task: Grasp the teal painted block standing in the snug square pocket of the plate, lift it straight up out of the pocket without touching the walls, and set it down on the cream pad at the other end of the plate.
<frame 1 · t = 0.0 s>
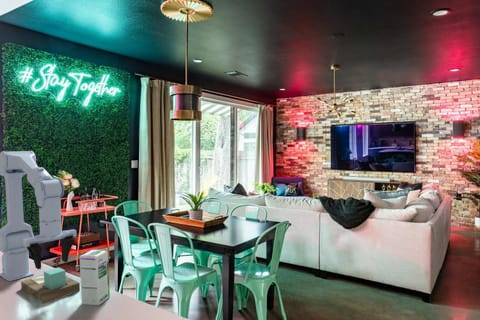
hand: (51, 264, 107), 10 cm above the kitchen counter, tool pointing down, fingers open, 7 cm apart
pocket plate: (50, 289, 113), on the kitchen counter
teal block: (55, 293, 111), resting in pocket plate
syrup box: (95, 301, 105), on the kitchen counter
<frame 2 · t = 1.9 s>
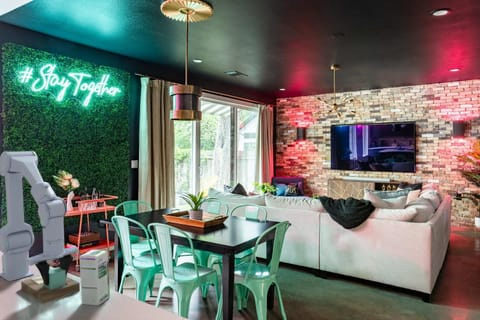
hand: (55, 282, 111), 3 cm above the kitchen counter, tool pointing down, fingers closed on teal block, 4 cm apart
teal block: (55, 292, 111), resting in pocket plate, touching gripper
everything else where it was.
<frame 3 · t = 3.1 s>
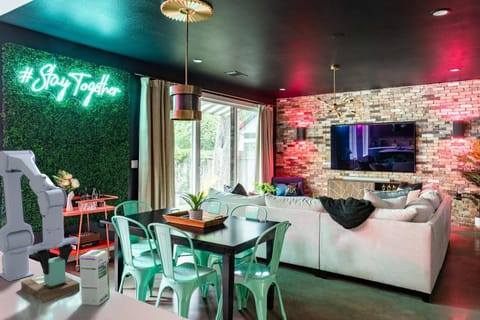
hand: (54, 271, 110), 7 cm above the kitchen counter, tool pointing down, fingers closed on teal block, 4 cm apart
teal block: (55, 282, 111), point 3 cm above the kitchen counter, touching gripper
everything else where it was.
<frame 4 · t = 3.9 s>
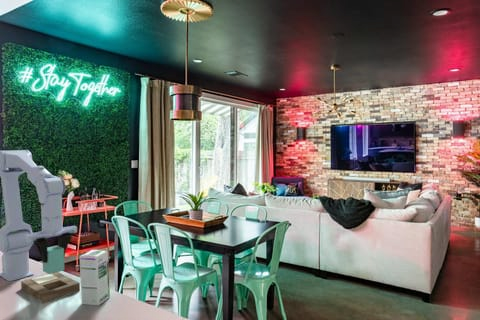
hand: (53, 259, 111), 10 cm above the kitchen counter, tool pointing down, fingers closed on teal block, 4 cm apart
teal block: (53, 270, 111), point 7 cm above the kitchen counter, touching gripper
everything else where it was.
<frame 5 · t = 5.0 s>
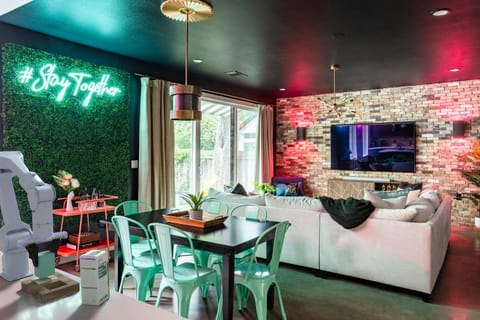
hand: (44, 264, 115), 7 cm above the kitchen counter, tool pointing down, fingers closed on teal block, 4 cm apart
teal block: (44, 274, 115), point 4 cm above the kitchen counter, touching gripper
everything else where it was.
when the fingers open (7 cm above the kitchen counter, at t = 5.9 s): teal block stays where it is, resting on pocket plate.
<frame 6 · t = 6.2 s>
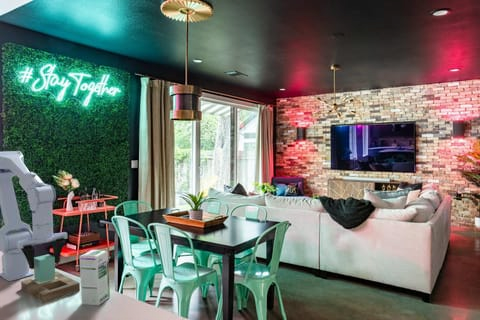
hand: (44, 265, 115), 7 cm above the kitchen counter, tool pointing down, fingers open, 7 cm apart
teal block: (44, 278, 115), point 3 cm above the kitchen counter, touching pocket plate
everything else where it was.
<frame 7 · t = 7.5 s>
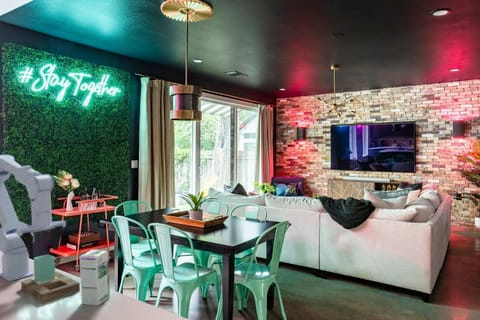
hand: (43, 252, 118), 10 cm above the kitchen counter, tool pointing down, fingers open, 7 cm apart
nothing on the kitchen counter moved.
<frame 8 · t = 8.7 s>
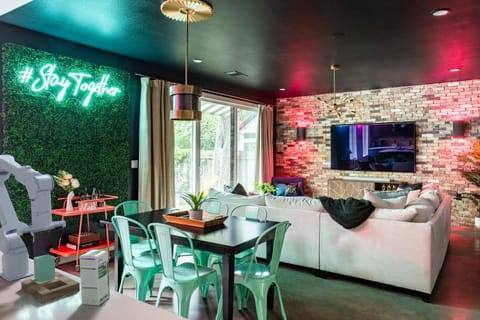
hand: (43, 252, 118), 10 cm above the kitchen counter, tool pointing down, fingers open, 7 cm apart
nothing on the kitchen counter moved.
at the end: teal block 0.2 cm from the target spot on the pocket plate, point 2.7 cm above the pocket plate's base; teal block tilted 0°; the gripper is holding nothing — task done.
